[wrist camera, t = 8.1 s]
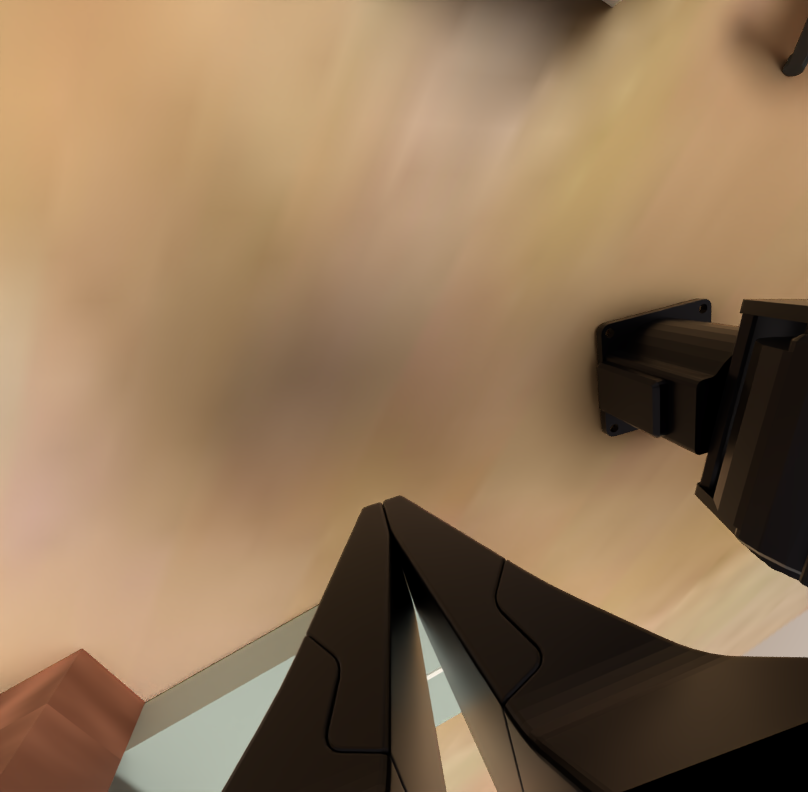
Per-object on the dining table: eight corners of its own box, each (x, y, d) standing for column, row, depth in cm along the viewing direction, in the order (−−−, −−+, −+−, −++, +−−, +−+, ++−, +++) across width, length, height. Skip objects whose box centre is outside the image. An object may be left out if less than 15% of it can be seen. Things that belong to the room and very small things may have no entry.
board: (424, 545, 24) (435, 576, 21) (489, 650, 27) (506, 688, 24) (86, 736, 23) (58, 791, 21) (196, 819, 26) (183, 874, 24)
